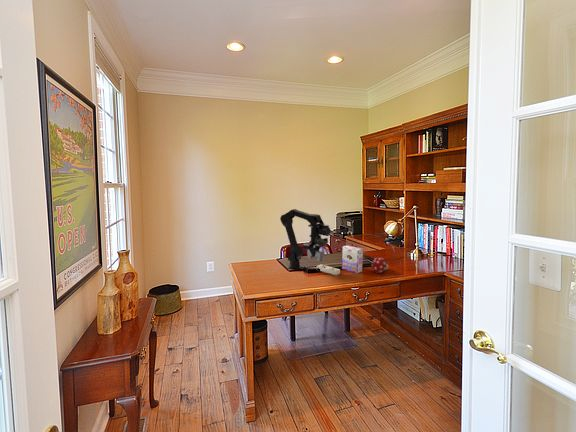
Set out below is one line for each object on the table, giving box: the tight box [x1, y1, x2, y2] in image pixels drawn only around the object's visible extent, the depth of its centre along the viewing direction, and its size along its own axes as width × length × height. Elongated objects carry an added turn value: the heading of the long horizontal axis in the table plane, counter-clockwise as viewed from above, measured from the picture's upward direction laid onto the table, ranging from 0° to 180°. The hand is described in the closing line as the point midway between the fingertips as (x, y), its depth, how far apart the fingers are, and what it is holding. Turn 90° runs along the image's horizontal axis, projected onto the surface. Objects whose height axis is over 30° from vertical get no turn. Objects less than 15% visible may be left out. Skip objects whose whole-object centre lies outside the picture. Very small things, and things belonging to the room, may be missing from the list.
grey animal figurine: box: [306, 249, 324, 262], centre depth 215 cm, size 11×3×6 cm, turn 47°
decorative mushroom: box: [371, 256, 390, 274], centre depth 222 cm, size 11×11×15 cm
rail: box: [316, 264, 341, 276], centre depth 221 cm, size 16×5×3 cm, turn 48°
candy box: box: [341, 244, 364, 274], centre depth 223 cm, size 14×6×16 cm, turn 41°
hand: (314, 256), depth 216 cm, fingers closed on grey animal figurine, 3 cm apart
